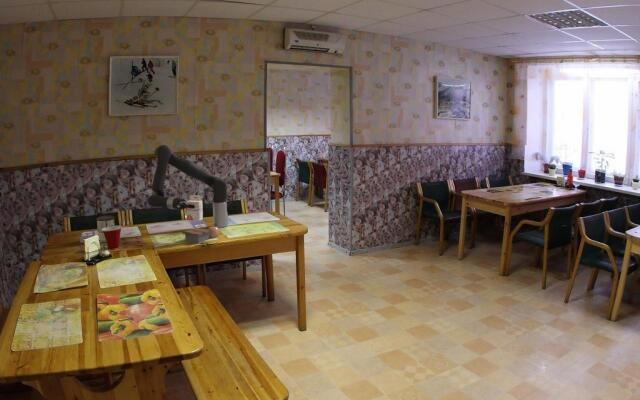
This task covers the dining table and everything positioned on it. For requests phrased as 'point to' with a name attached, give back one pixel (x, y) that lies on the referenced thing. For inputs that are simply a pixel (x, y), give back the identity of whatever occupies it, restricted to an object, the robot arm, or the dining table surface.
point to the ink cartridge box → (198, 210)
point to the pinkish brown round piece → (213, 232)
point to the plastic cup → (112, 236)
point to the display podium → (196, 235)
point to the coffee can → (104, 225)
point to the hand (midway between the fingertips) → (197, 205)
